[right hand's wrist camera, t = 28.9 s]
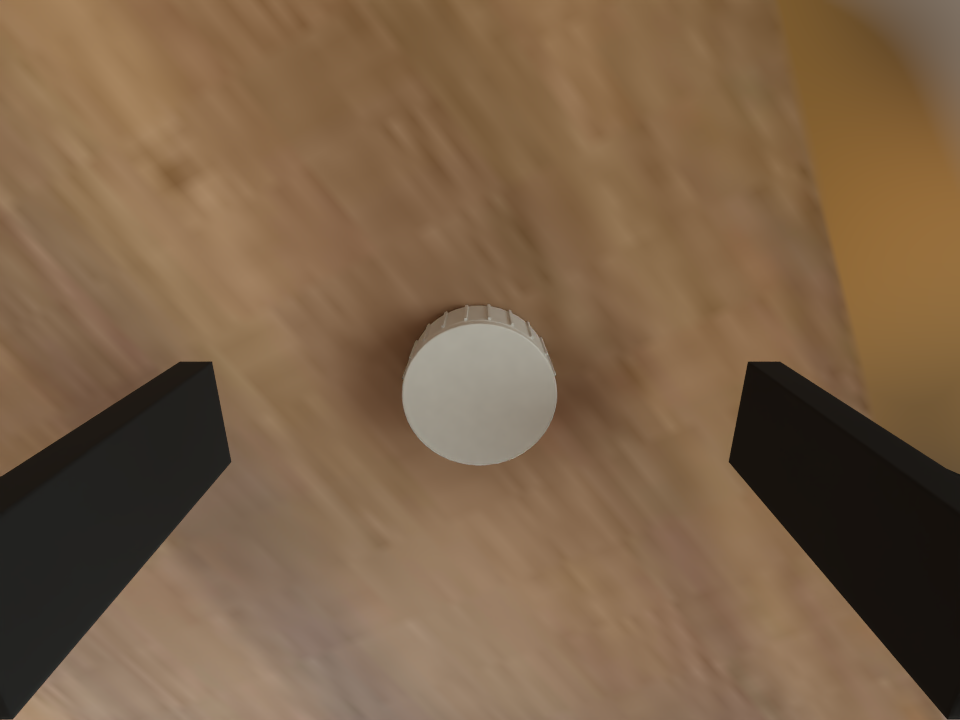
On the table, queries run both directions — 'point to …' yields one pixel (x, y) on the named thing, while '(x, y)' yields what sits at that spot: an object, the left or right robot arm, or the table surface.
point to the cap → (479, 386)
